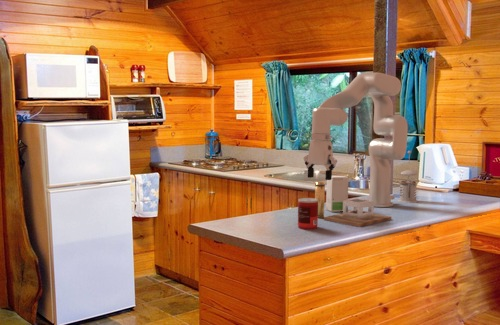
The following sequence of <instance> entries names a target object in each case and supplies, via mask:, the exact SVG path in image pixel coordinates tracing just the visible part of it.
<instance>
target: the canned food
mask: <svg viewBox="0 0 500 325" xmlns="http://www.w3.org/2000/svg"><path fill="white" fill-rule="evenodd" d="M297 200H298V201H297V227H298V228H299V229H300V230H315V229H317V228H318V220H319V218H318V200H317V199H315V197H314V198H313V197H301V198H298V199H297Z"/></svg>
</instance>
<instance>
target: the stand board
mask: <svg viewBox="0 0 500 325" xmlns="http://www.w3.org/2000/svg"><path fill="white" fill-rule="evenodd" d="M323 220H324V221H327V222H332V221H333V223H337V222H338V223H337V224H342V223H343V224H345V225H347V224H348V226H352V225H353V226H354V227H357V226H358V228H361V226H362V227H365V226H370V225H373V224H378V223H383V222H387V221H392V216H390V215H383V214H378V213H373V217H372V218H367V219H363V220H358V219H352V218H347V217H343V212H341V213H337V214H333V215H328V216H324V218H323ZM343 224H342V225H343ZM353 226H352V227H353Z"/></svg>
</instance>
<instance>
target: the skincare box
mask: <svg viewBox="0 0 500 325" xmlns="http://www.w3.org/2000/svg"><path fill="white" fill-rule="evenodd" d="M325 193H326V196H325V199H326V200H325V210H326V211H328V212H333V213H337V212H340V211H343V200H349V176H345V175H332V179H331V180H326V192H325Z"/></svg>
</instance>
